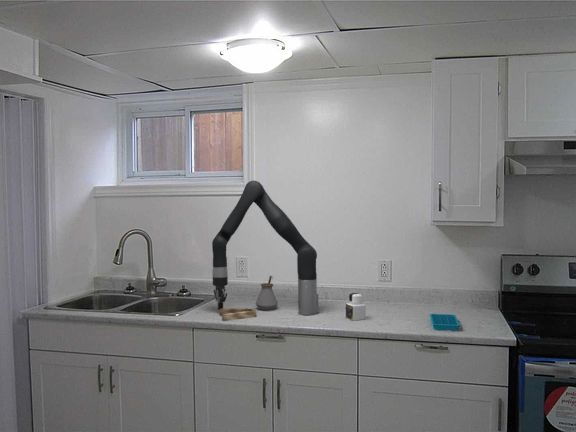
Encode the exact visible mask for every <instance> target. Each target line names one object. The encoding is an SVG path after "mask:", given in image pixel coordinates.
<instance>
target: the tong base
mask: <svg viewBox="0 0 576 432" xmlns="http://www.w3.org/2000/svg"><path fill="white" fill-rule="evenodd" d="M251 309H252V311H244V312H236V313H229V314H222V315H221V320H222V321H223V322H226V321H233V320H243V319H249V318H256V317H257V308H251Z"/></svg>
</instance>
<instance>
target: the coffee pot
mask: <svg viewBox="0 0 576 432" xmlns="http://www.w3.org/2000/svg"><path fill="white" fill-rule="evenodd" d="M273 279H274V277H273V275H270V276H269V277H268V283H267V282H264V283H261V284H260V287H261V290H260V292H259V295H258V297H257V300H256V303H255V305H256V307H257V308H258V309H259V310H260V311H265V312H266V311H267V312H268V311H274V310H275V308H277V307H278V304H279V302H278V300H277V297H276V295H275V292H274V291H273V286H274V284H273V283H271V282H272V280H273Z"/></svg>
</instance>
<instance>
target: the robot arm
mask: <svg viewBox="0 0 576 432" xmlns="http://www.w3.org/2000/svg"><path fill="white" fill-rule="evenodd" d="M253 203H254V204H255V205H256V206H257V207H258V208H259V209H260V211H261V212H262V213H263V215H264V217H265V219H266V220H267V222H268V223H269V224H270V226H271V227H272V228H273V230H274V231H275V233H277V235H279V237H281V238H282V239H283V240H284V241H286V242H287V243H288V244H289V246H291V247H292V248H293V250H294V251H295V253H296V254H297V256H296V257H297V258H296V259H297V260H296V264H297V265H296V267H297V278H298V279H297V304H298V305H297V307H298V308H297V314H298V315H301V316H312V315H317V314H319V294H318V290H317V287H318V284H317V283H318V281H317V279H318V278H317V258H318V253H317V251H316V249H315V248H314V247H313V246H312V245H311V244H310V243H309V242H308V241H307V240H306V239H305V238H304V236H303V235H302V234H301V233H300V231H299V230H298V229H297V227H296V226H295V224H294V223H293V221H292V220H291V219H290V218H289V216H288V215H287V214H286V213H285V212H284V210H283V209H281V208H280V206H278V205H277V204H276V203H275V201H273V200H272V198H271V197H270V195H269V194H268V193H267V191H266V189H265V187H264V186H263V184H262V183H261V182H260V181H257V180H250V181H248V182H247V183H246V185H245V186H244V189H243V191H242V194H241V196H240V198H239V200H238V201H237V202H236V205H235V206H234V208H233V209H232V211H231V213H230V214H229V215H228V217H227V218H226V220H225V221H224V222H223V224H222V226H221V228H220V230H219V231H218V233H216V235H215V237H214V238H213V239H212V243H211V247H212V271H211V272H212V273H211V274H212V286H214V287H215V289H214V290H213V294H214V298H215V301H216V302H217V310H218V311H220V309H223V308H224V303H226V299H227V297H228V292H226V286H227V285H228V281H229V280H228V279H229V278H228V277H229V274H228V271H229V270H228V259H227V258H228V257H227V245H228V243H229V242H230V240H231V238H232V236H233V235H234V234H235V233H236V232H237V230H238V229H239V227H240V226H241V224H242V221H243V220H244V218H245V216H246V214H247V212H248V210H249V209H250V207H251V206H252V205H253Z"/></svg>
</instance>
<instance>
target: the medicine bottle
mask: <svg viewBox="0 0 576 432" xmlns="http://www.w3.org/2000/svg"><path fill="white" fill-rule="evenodd" d="M348 296H349V300H348V301H349V302H346V303H345V318H346V319H348V320H350V321H354V322H357V321H364V320H365V321H366V320H367V318H366V314H367V313H366V312H367V310H366V309H367V307H366V304H365V303H363V295H362V293H359V292H353V293H350V294H349V295H348Z"/></svg>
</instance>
